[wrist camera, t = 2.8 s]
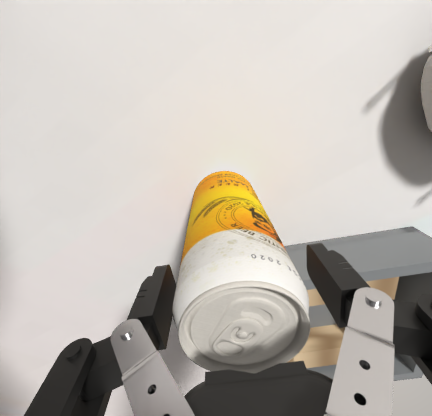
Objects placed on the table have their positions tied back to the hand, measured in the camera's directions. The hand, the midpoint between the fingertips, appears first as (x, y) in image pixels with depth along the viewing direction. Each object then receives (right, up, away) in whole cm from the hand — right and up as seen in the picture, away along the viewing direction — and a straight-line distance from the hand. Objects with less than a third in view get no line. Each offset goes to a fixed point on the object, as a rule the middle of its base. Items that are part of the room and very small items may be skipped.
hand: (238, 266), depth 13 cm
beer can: (0, +5, +10) cm, 11 cm away
